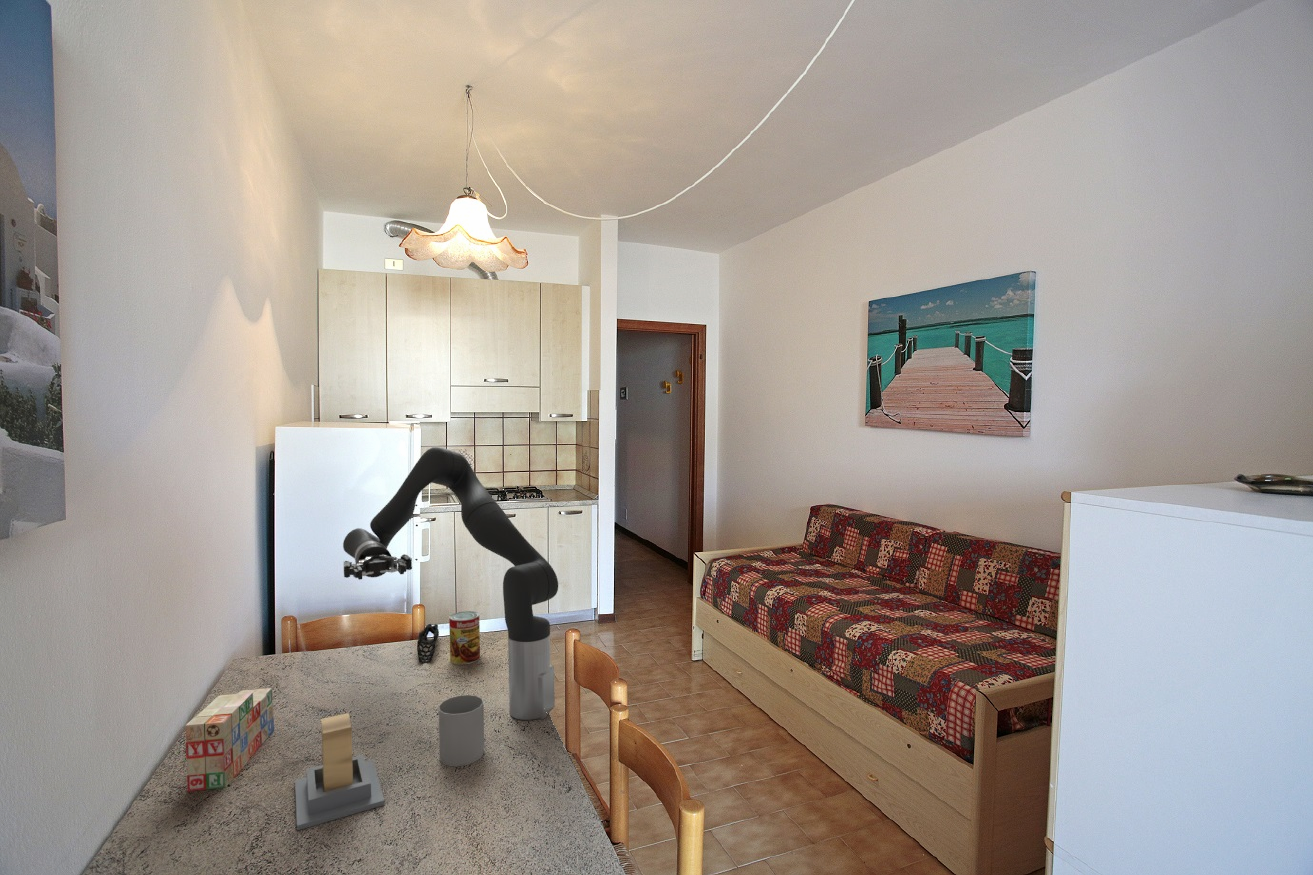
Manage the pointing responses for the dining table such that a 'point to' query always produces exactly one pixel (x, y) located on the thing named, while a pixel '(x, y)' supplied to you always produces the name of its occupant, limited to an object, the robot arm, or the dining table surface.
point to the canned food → (464, 637)
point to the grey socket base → (336, 795)
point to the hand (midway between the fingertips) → (381, 572)
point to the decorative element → (427, 643)
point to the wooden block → (337, 752)
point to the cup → (461, 730)
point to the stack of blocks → (227, 737)
